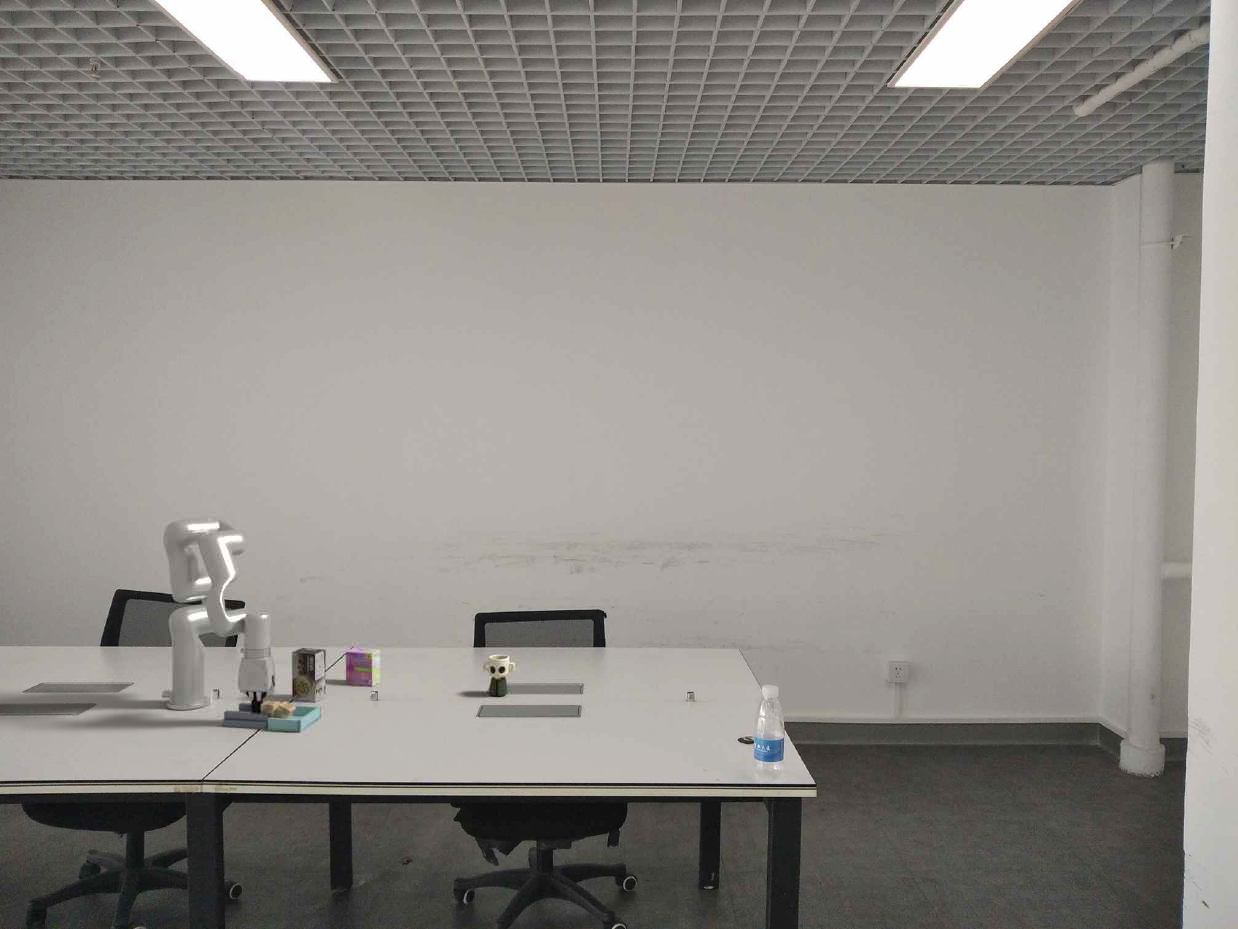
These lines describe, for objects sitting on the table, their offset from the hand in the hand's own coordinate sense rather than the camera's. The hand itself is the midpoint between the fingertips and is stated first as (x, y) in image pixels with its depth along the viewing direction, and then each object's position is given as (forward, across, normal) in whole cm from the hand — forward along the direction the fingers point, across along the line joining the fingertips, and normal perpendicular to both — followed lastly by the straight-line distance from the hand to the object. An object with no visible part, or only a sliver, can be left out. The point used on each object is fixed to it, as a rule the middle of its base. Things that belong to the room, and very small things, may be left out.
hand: (257, 712), depth 287 cm
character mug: (+3, +64, +43) cm, 77 cm away
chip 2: (+1, +8, 0) cm, 8 cm away
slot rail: (+3, -1, 0) cm, 3 cm away
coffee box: (+3, +4, +26) cm, 27 cm away
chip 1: (+1, +4, 0) cm, 4 cm away
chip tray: (+3, +12, 0) cm, 12 cm away
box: (+3, +14, +47) cm, 49 cm away
